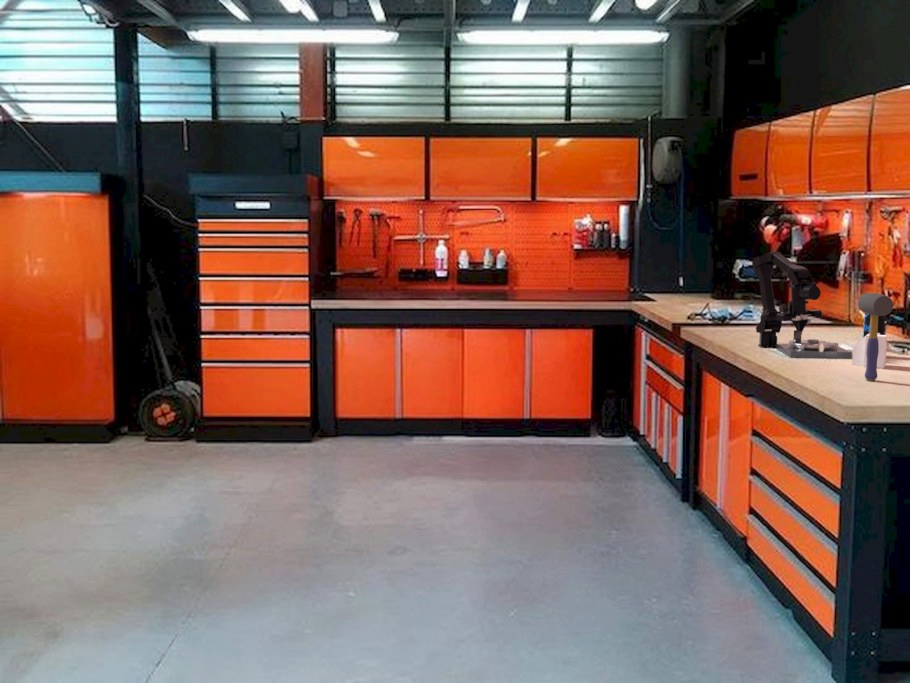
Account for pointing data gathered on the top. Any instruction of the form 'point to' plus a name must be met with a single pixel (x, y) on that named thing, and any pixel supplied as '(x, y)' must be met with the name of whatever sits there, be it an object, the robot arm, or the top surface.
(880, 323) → the aerosol can
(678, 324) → the top surface
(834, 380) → the top surface
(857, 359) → the corner bracket
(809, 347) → the sprocket
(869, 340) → the rubber mallet
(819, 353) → the index base
